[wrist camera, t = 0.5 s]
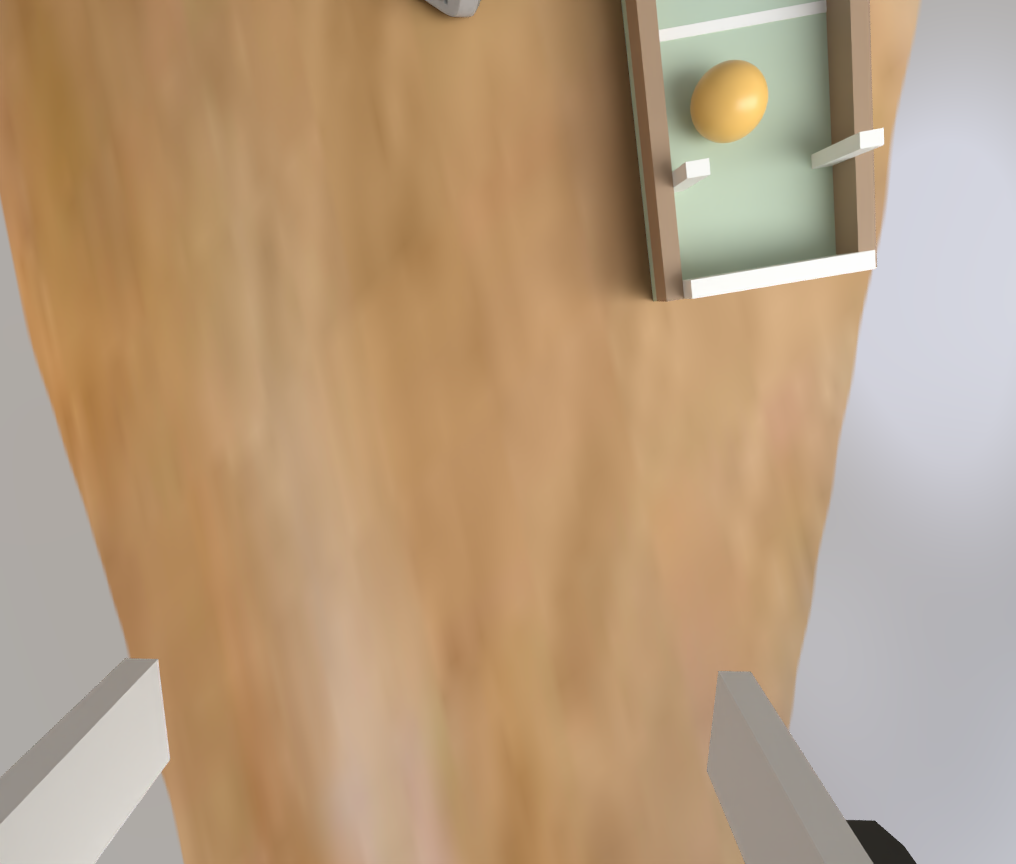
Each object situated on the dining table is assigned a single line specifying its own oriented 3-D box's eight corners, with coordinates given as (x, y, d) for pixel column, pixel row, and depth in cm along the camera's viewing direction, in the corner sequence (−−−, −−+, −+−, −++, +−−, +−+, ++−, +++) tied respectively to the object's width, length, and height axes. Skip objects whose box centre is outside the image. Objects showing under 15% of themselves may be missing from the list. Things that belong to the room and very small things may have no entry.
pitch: (598, -209, 32) (619, -320, 26) (824, -253, 32) (895, -376, 26) (653, 301, 38) (679, 301, 32) (844, 269, 38) (906, 264, 32)
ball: (678, 81, 34) (699, 54, 31) (748, 69, 34) (778, 40, 30) (684, 156, 35) (706, 138, 31) (753, 144, 35) (783, 125, 31)
